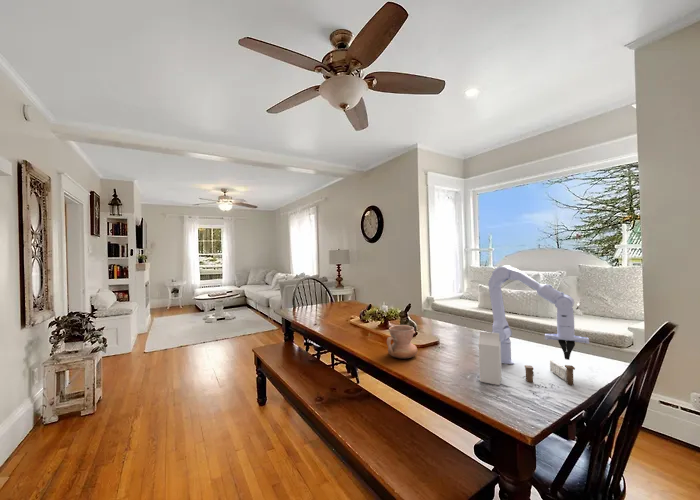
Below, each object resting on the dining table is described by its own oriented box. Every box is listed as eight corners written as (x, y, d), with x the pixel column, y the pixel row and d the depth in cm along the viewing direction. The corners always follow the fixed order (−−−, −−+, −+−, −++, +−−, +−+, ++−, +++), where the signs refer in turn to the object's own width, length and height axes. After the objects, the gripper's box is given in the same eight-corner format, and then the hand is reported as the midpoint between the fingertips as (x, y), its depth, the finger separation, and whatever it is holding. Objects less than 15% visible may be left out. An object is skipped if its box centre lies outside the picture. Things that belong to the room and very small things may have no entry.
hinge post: (568, 385, 112) (567, 367, 113) (565, 382, 115) (564, 365, 115) (575, 385, 112) (574, 368, 112) (572, 382, 114) (572, 365, 114)
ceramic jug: (405, 348, 160) (404, 322, 160) (425, 356, 147) (424, 327, 147) (378, 356, 150) (377, 328, 150) (397, 365, 138) (396, 334, 138)
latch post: (526, 382, 116) (526, 367, 116) (525, 379, 118) (524, 365, 118) (534, 382, 115) (533, 368, 115) (532, 379, 118) (531, 365, 118)
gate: (569, 381, 115) (569, 370, 115) (566, 381, 115) (565, 370, 115) (553, 370, 125) (553, 360, 125) (550, 370, 125) (550, 360, 125)
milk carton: (499, 385, 114) (498, 335, 114) (479, 381, 118) (478, 333, 118) (501, 378, 120) (500, 331, 120) (482, 375, 124) (481, 329, 124)
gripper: (586, 324, 121) (587, 358, 121) (543, 321, 129) (545, 353, 129) (589, 328, 115) (591, 364, 115) (544, 325, 123) (546, 358, 123)
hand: (566, 358), depth 122 cm, fingers closed
